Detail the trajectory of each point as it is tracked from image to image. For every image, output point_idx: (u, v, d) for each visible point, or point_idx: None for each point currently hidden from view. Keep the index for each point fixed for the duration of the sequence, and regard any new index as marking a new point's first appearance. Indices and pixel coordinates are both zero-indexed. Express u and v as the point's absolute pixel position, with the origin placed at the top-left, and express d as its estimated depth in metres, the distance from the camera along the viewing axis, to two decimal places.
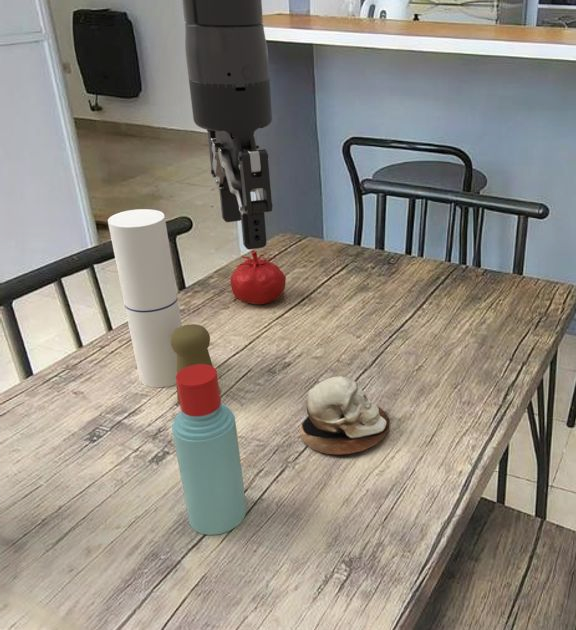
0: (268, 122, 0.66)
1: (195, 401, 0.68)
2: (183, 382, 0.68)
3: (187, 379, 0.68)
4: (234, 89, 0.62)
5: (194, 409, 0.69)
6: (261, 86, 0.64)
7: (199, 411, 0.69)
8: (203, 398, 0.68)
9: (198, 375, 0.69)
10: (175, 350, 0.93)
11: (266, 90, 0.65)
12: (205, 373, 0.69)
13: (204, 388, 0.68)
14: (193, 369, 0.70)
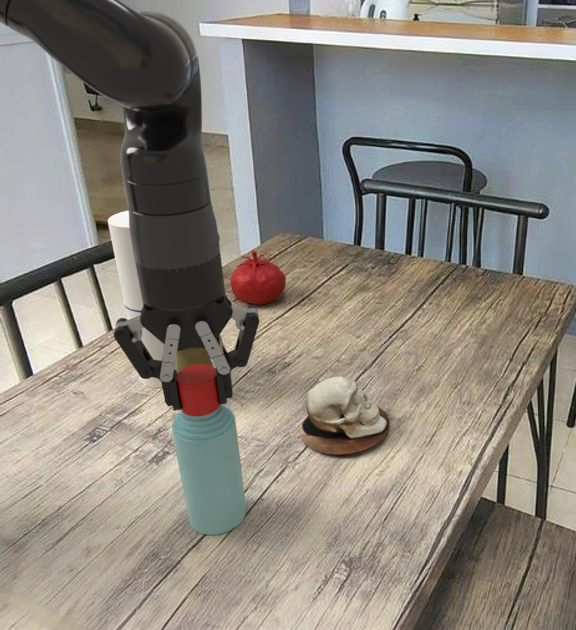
0: None
1: (195, 401, 0.68)
2: (183, 382, 0.68)
3: (187, 379, 0.68)
4: (220, 256, 0.64)
5: (194, 409, 0.69)
6: None
7: (199, 411, 0.69)
8: (203, 398, 0.68)
9: (198, 375, 0.69)
10: None
11: None
12: (205, 373, 0.69)
13: (204, 388, 0.68)
14: (193, 369, 0.70)
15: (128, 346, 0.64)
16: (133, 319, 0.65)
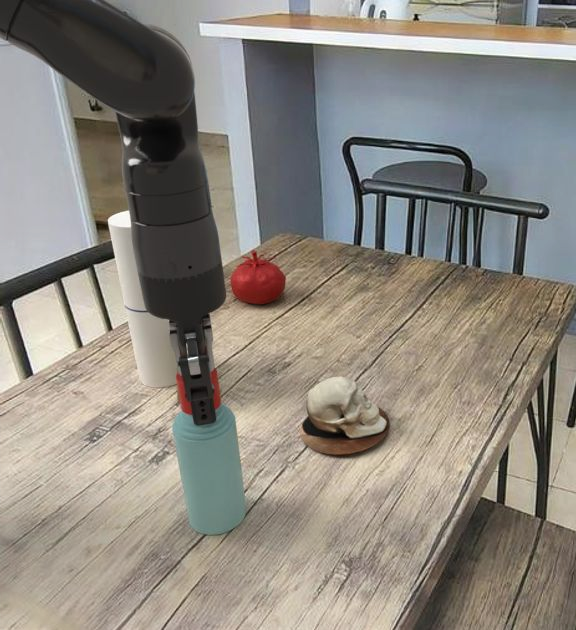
0: None
1: None
2: None
3: None
4: None
5: (219, 397, 0.71)
6: None
7: (220, 396, 0.71)
8: None
9: None
10: None
11: None
12: None
13: None
14: None
15: None
16: (190, 347, 0.62)
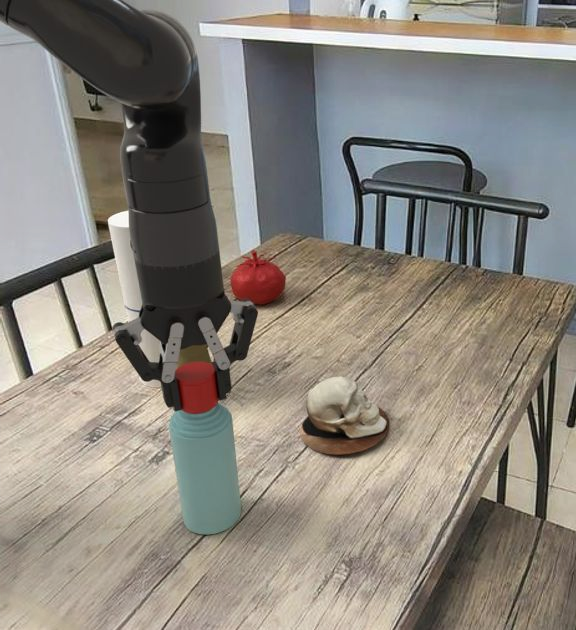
0: None
1: (216, 384, 0.71)
2: (209, 374, 0.69)
3: (204, 373, 0.69)
4: (219, 251, 0.64)
5: (217, 393, 0.71)
6: None
7: None
8: None
9: (196, 370, 0.69)
10: None
11: None
12: (192, 367, 0.70)
13: None
14: (184, 375, 0.69)
15: (130, 349, 0.64)
16: (132, 322, 0.64)
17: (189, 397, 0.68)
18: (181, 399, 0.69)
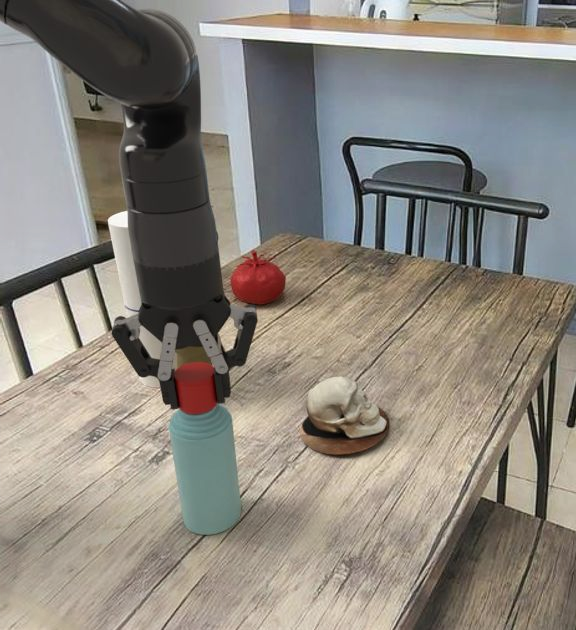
0: None
1: None
2: (205, 364, 0.70)
3: (202, 366, 0.70)
4: (218, 254, 0.63)
5: None
6: None
7: None
8: None
9: (192, 371, 0.69)
10: (175, 350, 0.93)
11: None
12: (185, 373, 0.69)
13: None
14: (198, 376, 0.68)
15: (126, 344, 0.64)
16: (131, 317, 0.65)
17: (213, 390, 0.69)
18: (207, 399, 0.69)
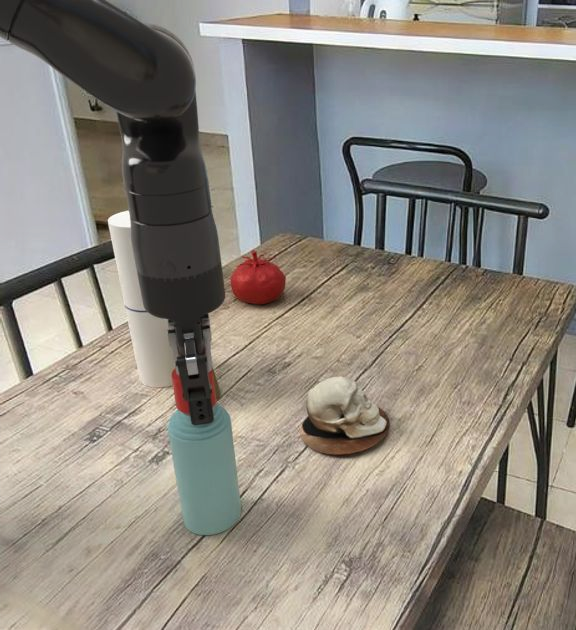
0: None
1: None
2: None
3: None
4: None
5: None
6: None
7: (175, 401, 0.70)
8: (174, 392, 0.69)
9: None
10: None
11: None
12: None
13: (174, 384, 0.68)
14: None
15: None
16: (188, 346, 0.62)
17: None
18: None
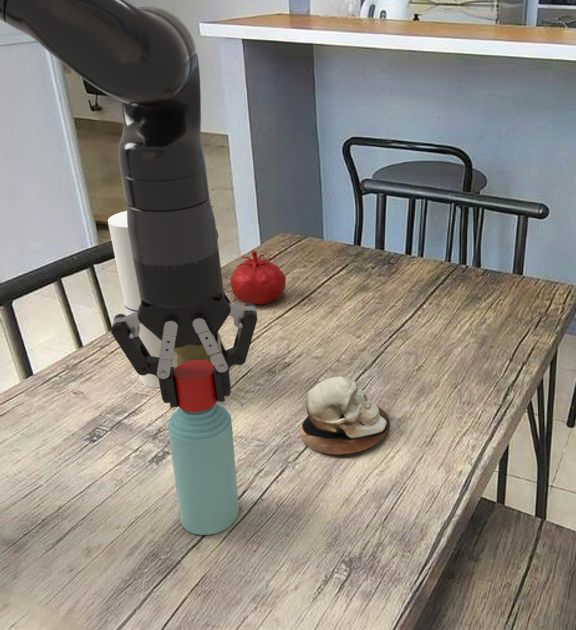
0: None
1: (196, 396, 0.68)
2: (183, 378, 0.67)
3: (186, 375, 0.68)
4: (218, 253, 0.63)
5: (194, 405, 0.69)
6: None
7: (199, 406, 0.69)
8: (204, 393, 0.68)
9: (196, 370, 0.69)
10: (175, 350, 0.93)
11: None
12: (203, 368, 0.69)
13: (205, 383, 0.68)
14: (189, 365, 0.70)
15: (125, 342, 0.64)
16: (131, 315, 0.65)
17: None
18: None
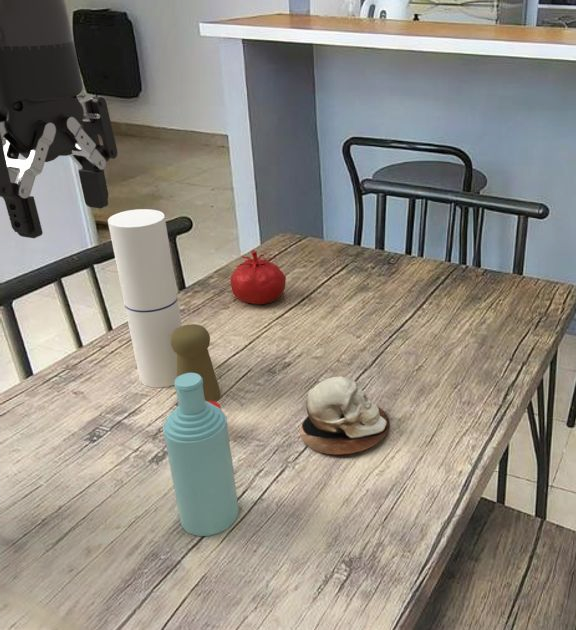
0: (39, 96, 0.56)
1: None
2: (212, 402, 0.91)
3: None
4: None
5: None
6: (17, 52, 0.54)
7: None
8: None
9: None
10: (175, 350, 0.93)
11: (29, 58, 0.55)
12: None
13: None
14: None
15: None
16: (80, 101, 0.64)
17: None
18: None
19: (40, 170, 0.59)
